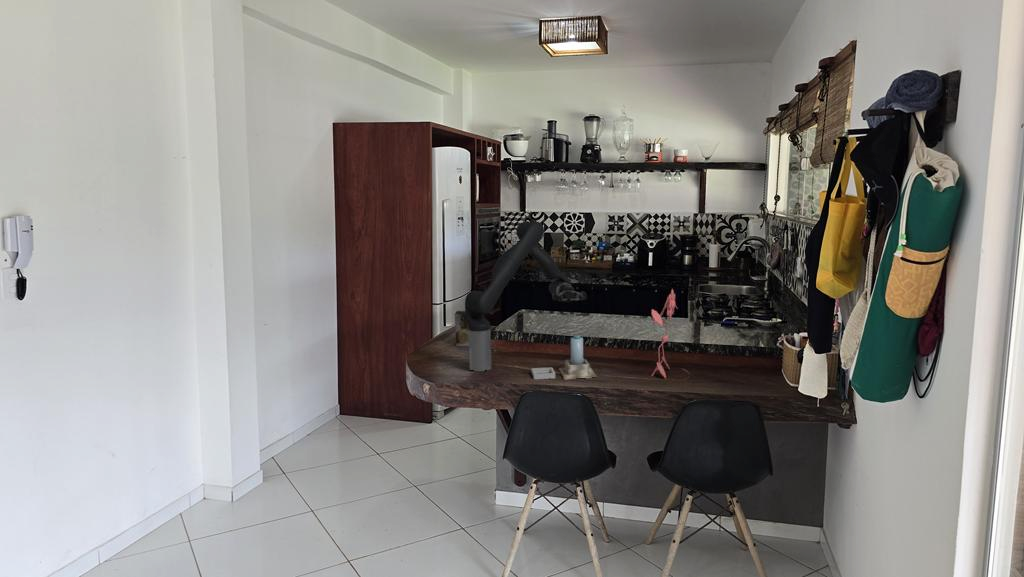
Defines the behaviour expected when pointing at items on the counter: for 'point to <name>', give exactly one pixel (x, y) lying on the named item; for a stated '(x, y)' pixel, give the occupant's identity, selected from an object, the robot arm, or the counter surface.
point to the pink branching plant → (658, 319)
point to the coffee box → (461, 329)
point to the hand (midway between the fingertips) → (572, 298)
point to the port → (577, 370)
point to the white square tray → (543, 373)
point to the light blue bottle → (576, 350)
